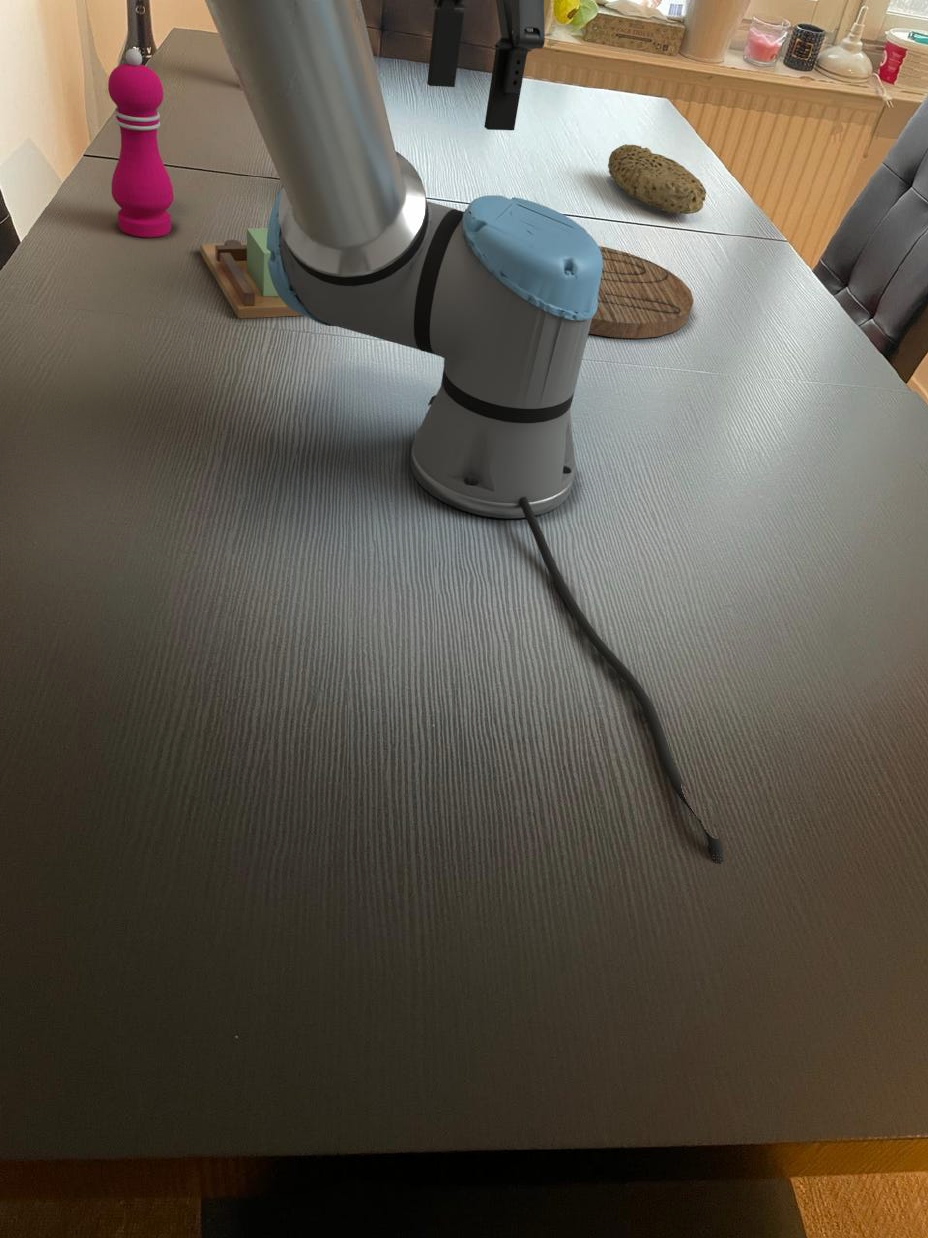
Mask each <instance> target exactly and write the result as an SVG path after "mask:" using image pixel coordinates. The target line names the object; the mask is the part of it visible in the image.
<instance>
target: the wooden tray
mask: <svg viewBox="0 0 928 1238" xmlns="http://www.w3.org/2000/svg"><path fill="white" fill-rule="evenodd" d="M199 250H200V251H199V252H200V255H201V256H202V258H203V261H204V262H205V264H206V265H207V267H208V268H209V269H208V270H209V271H210V272H211V274H212V276H213V277H214V279H215V281H216V282H217V284H218V286H219V288H220V289H221V291H222V293H223V295H224V296H225V298H226V299H227V301H228V304H229V305H230V306H231V308H232V310H233V312H234V313H235V315H236V317H237V319H239V320H240V319H259V318H261V319H262V318H275V317H276V318H277V317H278V318H283V317H298V316H299V317H301V316H303V315H301V314H299V313H297V312H295V311H293V310H292V309H290V308H289V307H288V306H287V305H286V304H285V303H284V302H283V301H282V300H281V298H280V297H279V296H265V297H264V296H263V295H262V294H261V292H260V291H259V289H258V287H257V286H256V284H255V283H254V281H253V280H252V278H251V277H250V275H249V273H248V272H247V242H241V241H239V240H236V239H226V240H224V242H221V243H220V242H218V243H217V242H215V243H214V242H213V243H212V242H211V243H200V244H199Z"/></svg>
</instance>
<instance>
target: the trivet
mask: <svg viewBox="0 0 928 1238" xmlns="http://www.w3.org/2000/svg"><path fill="white" fill-rule="evenodd" d="M598 246H599V249H600V251H601V255H602V260H603V268H602V275H601V280H600V286H599V291H598V307H597V310H596V313H595V314H594V316H593V317H592V321H591V325H590V329H589V333H588V334H591V335H597V336H603V337H607V338H608V337H609V338H620V339H647V338H657V337H661V336H665V335H668V334H671V333H675V332H677V331H678V330H680V329H681V328H682V327H684V326H685V325H686V324H687V321H688V320H689V318H690V316H691V315H690V314H691V311H692V308H693V304H694V301H695V299H694V297H693V294H692V290H691V289H690V288H689V286H688V285H686V283H685V282H684V281H683V280H682V279H681V278H680V277H678V276H677V275H675V274H674V273H672V272H671V271H670V270H668V269H666V268H664V267H663V266H660V265H659V264H657V263H655V262H653V261H650V260H648V259H645V258H643V257H640V256H637V255H635V254H632V253H629V252H625V251H622V250H618V249H614V248H612V247H611V248H610V247H606V246H601V245H598Z"/></svg>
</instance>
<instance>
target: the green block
mask: <svg viewBox="0 0 928 1238" xmlns="http://www.w3.org/2000/svg"><path fill="white" fill-rule="evenodd" d="M267 231H268V227H259V228H258V227H257V228H255V227H254V228H251V227H249V228H247V229H246V243H247V272H248V273H249V275H250V277H251V278H252V280H253V281H254V283H255V284H256V286H257V287H258V289H259V291H260V292H261V294H262V295H263V296H264V297H265V296H279V295H278V294H277V292H276V290H275V288H274V286H273V283H272V280H271V277H270V273H269V268H268V260H269V258H270V255H271V251H269V250H268V249H267Z"/></svg>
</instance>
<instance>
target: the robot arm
mask: <svg viewBox="0 0 928 1238" xmlns="http://www.w3.org/2000/svg"><path fill="white" fill-rule="evenodd" d="M204 2H205V4H206V8H207V9H208V12H209V15H210V17H211V19H212V21H213V24H214V26H215V29H216V31H217V34H218V35H219V38H220V40H221V42H222V45H223V47H224V50H225V52H226V54H227V57H228V59H229V61H230V64H231V66H232V69H233V71H234V73H235V75H236V78H237V81H238V83H239V85H240V88H241V90H242V92H243V95H244V97H245V99H246V102H247V104H248V106H249V109H250V111H251V114H252V116H253V119H254V120H255V123H256V126H257V128H258V131H259V133H260V136H261V137H262V140H263V143H264V145H265V147H266V149H267V151H268V154H269V157H270V159H271V162H272V163H273V166H274V168H275V171H276V173H277V175H278V178H279V180H280V183H281V185H282V188H281V189H280V191H279V193H278V195H277V197H276V200H275V201H274V204H273V205H272V210H271V212H270V215H269V219H268V224H267V225H268V226H267V228H268V231H267V249H268V250H269V251H271V255H270V258H269V260H268V268H269V273H270V277H271V280H272V283H273V286H274V288H275V290H276V292H277V294H278V295H279V297H280V298H281V300H282V301H283V302H284V303H285V304H286V305H287V306H288V307H289V308H290V309H292V310H293V311H295V312H297V313H299V314H301V315H302V316H304V317H306V318H309V319H310V320H312V321H313V322H315V323H318V324H320V325H324V326H327V327H337V328H340V329H344V330H348V331H351V332H355V333H358V334H362V335H366V336H369V337H373V338H377V339H379V340H383V341H387V342H390V343H394V344H396V345H400V346H404V347H408V348H411V349H415V350H418V351H421V352H424V353H428V354H430V355H434V356H438V357H441V358H443V369H442V370H443V371H442V375H441V376H442V377H441V382H440V387H439V389H438V391H437V393H436V394H435V395H433V396H432V397H431V398H430V399H429V402H428V404H427V406H428V407H429V408H428V410H427V412H426V414H425V416H424V418H423V420H422V422H421V424H420V426H419V427H418V429H417V431H416V433H415V435H414V438H413V441H412V444H411V445H412V446H411V453H410V461H409V462H410V469H411V472H412V474H413V476H414V479H415V480H416V481H417V482H418V484H419V485H420V486H421V487H422V488H423V489H424V490H425V491H426V492H428V494H430V495H431V496H433V497H434V498H436V499H437V500H439V501H440V502H443V503H445V504H446V505H448V506H451V507H453V508H455V509H457V510H461V511H464V512H466V513H470V514H473V515H478V516H483V517H489V518H494V519H495V518H496V519H523V518H524V519H525V520H526V522H527V524H528V526H529V529H530V530H531V531H530V532H531V533H532V535H533V537H534V540H535V542H536V545H537V547H538V550H539V552H540V554H541V557H542V560H543V562H544V564H545V566H546V569H547V571H548V573H549V575H550V577H551V579H552V581H553V583H554V585H555V587H556V589H557V591H558V592H559V595H560V596H561V598H562V600H563V603H565V606H566V608H567V609H568V611H569V612H570V614H571V616H572V617H573V619H574V621H575V622H576V624H577V625H578V627H579V628H580V630H581V631H582V632H583V634H584V635H585V637H586V638H587V639H588V641H589V642H590V643H591V645H592V646H593V647H594V649H596V651H597V652H598V653H599V654H600V655H601V656H602V658H603V659H604V660H605V661H606V663H608V665H610V667H611V668H612V669H613V671H615V672H616V673H617V674H618V676H619V677H620V678H621V679H622V680H623V682H624V683H625V684H626V685H627V687H628V688H629V690H630V691H631V692H632V694H633V696H634V697H635V699H636V700H637V702H638V703H639V705H640V707H641V709H642V711H643V713H644V715H645V717H646V720H647V723H648V725H649V728H650V731H651V734H652V737H653V740H654V743H655V747H656V749H657V753H658V756H659V759H660V762H661V764H662V767H663V769H664V772H665V774H666V776H667V778H668V781H669V783H670V785H671V786H672V788H673V790H674V791H675V793H676V794H677V796H678V797H679V799H680V800H681V801H682V802H683V803H684V805H686V807H687V808H688V809H689V810H690V811H691V813H692V814H693V815H694V816H695V818H696V820H697V821H698V822H699V824H700V825H701V827H702V829H703V832H704V834H705V836H706V839H707V843H708V847H709V848H708V849H709V854H710V855H709V856H710V858H711V859H712V861H713V862H714V863H715V864H718V865H721V864H723V863H724V851H723V846H722V841H721V838H720V836H719V838H718V839H714V838H712V837H711V836H710V835H709V834H708V833H707V832H706V830H705V829H704V827H703V825H702V824H701V822H700V821H699V819H698V818H697V817H696V815H695V814H694V812H693V811H692V809H691V808H690V806H689V805H688V803H687V801H686V799H685V797H684V794H683V792H682V788H681V783H682V784H683V785H684V786H685V787H687V785H686V784H685V782H684V780H683V778H682V777H681V775H680V772H679V771H678V768H677V766H676V763H675V761H674V758H673V755H672V753H671V750H670V746H669V744H668V740H667V737H666V734H665V731H664V728H663V726H662V725H663V724H662V723H661V720H660V718H659V716H658V712H657V710H656V709H655V707H654V704H653V703H652V701H651V699H650V698H649V696H648V695H647V693H646V691H645V690H644V688H643V686H642V685H641V684H640V682H639V681H638V680H637V679H636V677H635V676H634V675H633V674H632V672H631V671H630V670H629V669H628V668H627V667H626V666H625V664H623V662H622V661H621V660H620V659H619V658H618V657H617V656H616V655H615V654H614V653H613V651H612V650H611V649H610V648H609V647H608V646H607V645H606V643H605V642H604V641H603V639H602V638H601V637H600V636H599V634H598V633H597V632H596V630H594V627H593V626H592V625H591V623H590V622H589V621H588V619H587V618H586V616H585V614H584V613H583V611H582V610H581V608H580V607H579V605H578V603H577V601H576V600H575V598H574V596H573V595H572V593H571V591H570V589H569V587H568V585H567V583H566V581H565V580H564V578H563V576H562V574H561V572H560V569H559V568H558V565H557V563H556V561H555V559H554V558H553V555H552V553H551V550H550V547H549V546H548V542H547V539H546V537H545V536H544V534H543V531H542V528H541V527H540V523H539V521H538V519H537V518H536V516H539V515H540V516H541V515H543V514H546V513H549V512H551V511H553V510H556V509H557V508H558V507H560V506H561V505H562V504H564V502H565V501H566V500H567V499H568V498H569V496H570V494H571V492H572V488H573V483H574V479H575V477H576V455H575V447H574V446H575V445H574V438H573V437H574V436H573V427H572V426H573V425H572V418H571V417H572V416H571V408H572V403H573V399H574V395H575V391H576V387H577V383H578V379H579V374H580V370H581V367H582V361H583V358H584V353H585V349H586V345H587V341H588V337H589V334H590V333H589V329H590V325H591V321H592V317H593V316H594V314H595V313H596V310H597V307H598V291H599V286H600V280H601V275H602V268H603V260H602V255H601V251H600V249H599V246H600V245H599V244H598V243H597V241H596V240H595V238H594V237H593V236H592V235H591V234H590V233H589V232H588V231H587V230H586V229H585V228H584V227H583V226H582V225H580V224H579V223H577V222H576V221H575V220H573V219H572V218H570V217H568V216H567V215H565V214H563V213H561V212H559V211H557V210H555V209H553V208H551V207H548V206H546V205H543V204H541V203H537V202H535V201H531V200H528V199H524V198H521V197H515V196H513V197H511V198H509V197H506V196H504V195H483V196H480V197H476V198H475V199H473V200H472V201H471V202H470V203H469V204H468V206H467V207H466V208H465V210H460V209H457V208H454V207H450V206H447V205H442V204H440V203H439V204H438V203H435V202H432V201H428V200H427V196H426V190H425V186H424V183H423V181H422V180H423V179H422V178H421V176H420V174H419V172H418V171H417V169H416V168H415V166H414V165H413V164H412V163H411V162H410V161H409V159H407V158H406V157H405V156H403V155H402V154H401V153H400V152H398V151H396V148H395V144H394V138H393V135H392V134H393V133H392V130H391V127H390V121H389V117H388V113H387V109H386V105H385V100H384V97H383V92H382V86H381V83H380V78H379V74H378V71H377V67H376V61H375V58H374V57H375V56H374V53H373V48H372V44H371V41H370V36H369V31H368V27H367V23H366V19H365V13H364V10H363V6H362V1H361V0H204ZM432 5H433V7H434V8H435V9H434V15H433V16H434V17H433V27H432V35H431V43H430V54H429V63H428V73H427V82H426V84H427V85H428V86H429V87H440V88H441V87H446V88H455V86H456V78H457V73H458V72H457V71H458V62H459V55H460V47H461V40H462V39H461V38H462V32H463V23H464V16H465V13H464V12H463V11H461V10H466V9H467V7H466V1H465V0H432ZM495 5H496V11H497V17H498V25H499V32H500V39H498V40H497V42H496V43H495V44H494V48H495V50H494V57H493V58H494V59H493V65H492V71H491V79H490V86H489V93H488V99H487V106H486V112H485V120H484V128H485V129H486V130H487V131H515V127H516V121H517V117H518V116H517V115H518V110H519V102H520V98H521V92H522V91H521V90H522V86H523V80H524V74H525V68H526V60H527V56H528V53H530V52H532V51H533V50H535V49H539V50H541V49H543V48H544V46H545V41H546V38H545V37H546V33H545V32H546V31H545V0H495ZM687 789H688V790H689V788H688V787H687ZM718 834H719V835H720V833H719V832H718ZM722 854H723V855H722ZM713 855H714V856H713ZM717 855H718V856H717ZM720 855H721V856H720ZM722 856H723V857H722ZM712 857H713V858H712ZM714 858H715V859H714ZM718 858H719V859H718ZM720 859H721V860H720ZM716 861H717V862H716ZM721 862H723V863H721Z"/></svg>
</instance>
